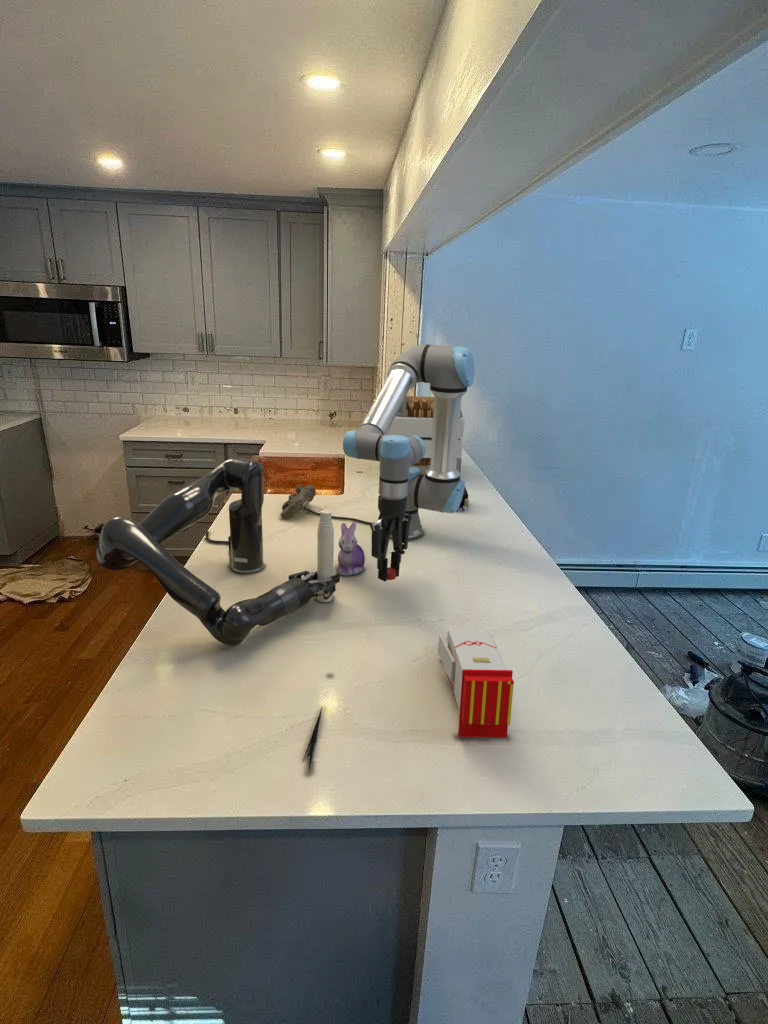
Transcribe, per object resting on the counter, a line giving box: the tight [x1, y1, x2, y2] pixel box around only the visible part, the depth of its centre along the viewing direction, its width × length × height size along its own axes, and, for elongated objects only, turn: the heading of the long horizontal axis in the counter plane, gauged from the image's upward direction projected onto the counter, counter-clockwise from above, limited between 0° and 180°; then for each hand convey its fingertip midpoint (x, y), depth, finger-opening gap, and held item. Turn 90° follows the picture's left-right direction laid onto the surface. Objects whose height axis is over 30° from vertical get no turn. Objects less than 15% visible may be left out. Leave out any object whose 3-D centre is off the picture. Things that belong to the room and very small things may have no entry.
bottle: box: [316, 509, 335, 603], centre depth 149 cm, size 4×4×25 cm
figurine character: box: [455, 486, 470, 512], centre depth 229 cm, size 7×8×15 cm
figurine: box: [337, 521, 366, 576], centre depth 168 cm, size 9×10×15 cm
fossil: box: [280, 484, 317, 520], centre depth 215 cm, size 22×10×15 cm
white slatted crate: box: [386, 394, 465, 475], centre depth 268 cm, size 34×33×41 cm
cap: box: [387, 567, 397, 581], centre depth 154 cm, size 4×4×2 cm
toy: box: [437, 628, 515, 738], centre depth 117 cm, size 12×13×30 cm
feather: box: [301, 673, 332, 771], centre depth 108 cm, size 2×28×2 cm
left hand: (331, 574), depth 154 cm, fingers closed on bottle, 4 cm apart
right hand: (388, 577), depth 155 cm, fingers closed on cap, 4 cm apart
